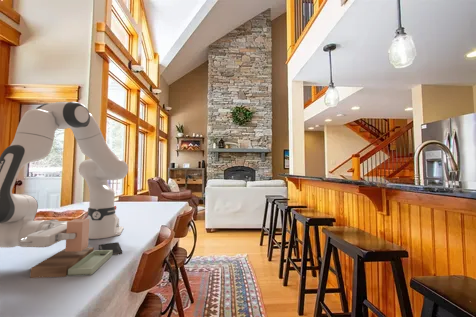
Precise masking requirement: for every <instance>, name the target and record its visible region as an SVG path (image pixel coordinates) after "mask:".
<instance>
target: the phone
mask: <svg viewBox="0 0 476 317" xmlns="http://www.w3.org/2000/svg"><path fill="white" fill-rule="evenodd" d="M98 250H113V254H112V256H118V254H119V255H122V254H123V250H122V247H121V245H120V243H119V242H118V241H117V242H110V243H109V242H108V243H102V244H99V245H98ZM100 255H106V254H100Z"/></svg>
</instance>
